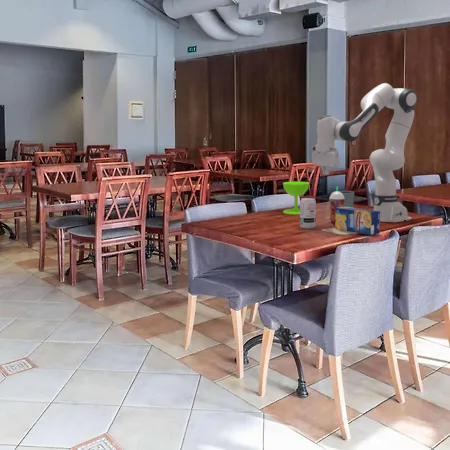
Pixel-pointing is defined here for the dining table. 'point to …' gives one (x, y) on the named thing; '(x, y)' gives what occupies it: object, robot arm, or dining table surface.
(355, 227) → the cracker box
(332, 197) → the smoothie
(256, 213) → the dining table surface
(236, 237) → the dining table surface
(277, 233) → the dining table surface
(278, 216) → the dining table surface
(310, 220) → the supplement can
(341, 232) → the board
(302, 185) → the wineglass
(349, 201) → the grey green plant pot
